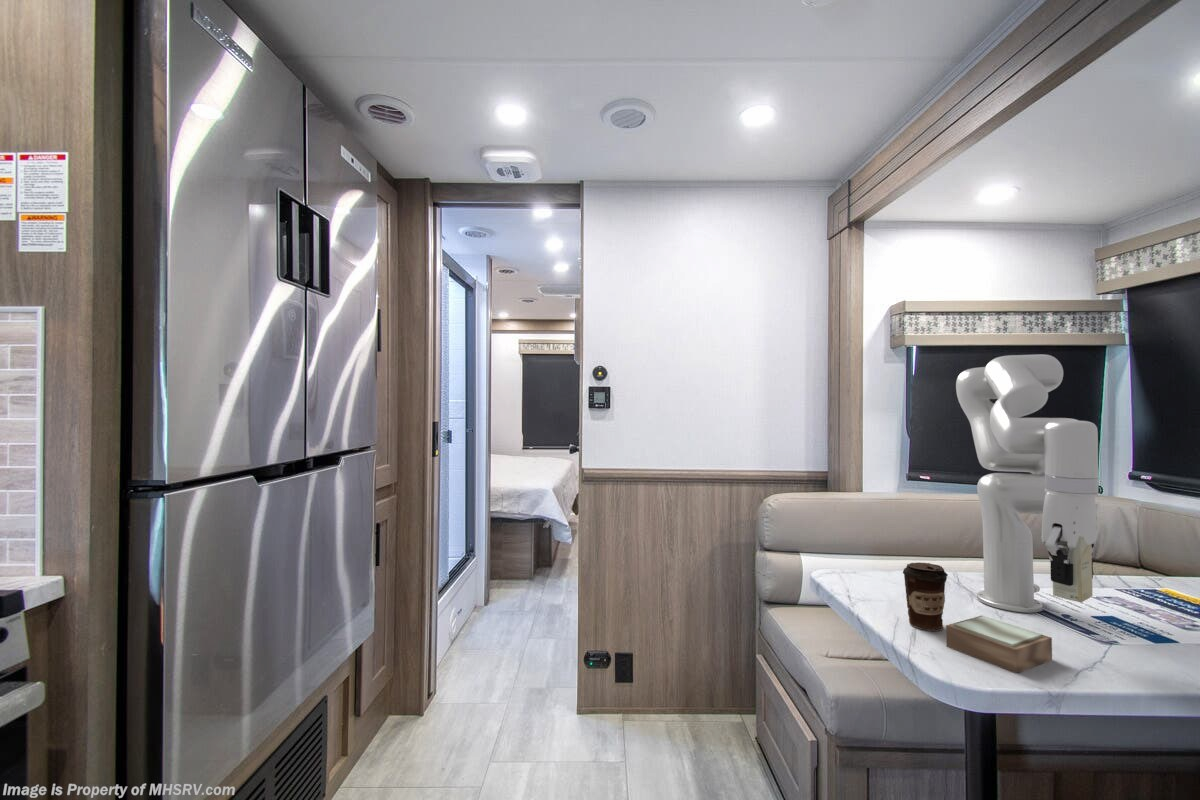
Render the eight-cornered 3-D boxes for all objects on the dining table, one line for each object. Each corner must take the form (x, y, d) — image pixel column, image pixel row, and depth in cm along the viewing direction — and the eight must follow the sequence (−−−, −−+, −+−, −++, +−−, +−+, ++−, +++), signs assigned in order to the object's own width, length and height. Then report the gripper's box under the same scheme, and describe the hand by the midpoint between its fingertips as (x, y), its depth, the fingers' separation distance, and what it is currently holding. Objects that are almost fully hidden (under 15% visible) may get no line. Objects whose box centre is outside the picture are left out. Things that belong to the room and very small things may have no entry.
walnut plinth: (982, 635, 108) (981, 613, 108) (1052, 659, 97) (1051, 635, 97) (946, 646, 103) (945, 623, 103) (1016, 673, 92) (1015, 647, 92)
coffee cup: (957, 636, 107) (955, 572, 108) (913, 632, 109) (911, 570, 110) (938, 620, 116) (937, 561, 116) (898, 617, 118) (897, 559, 118)
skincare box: (1082, 603, 95) (1081, 537, 95) (1051, 596, 98) (1050, 532, 98) (1093, 596, 98) (1092, 532, 98) (1063, 589, 102) (1062, 527, 102)
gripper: (1069, 479, 105) (1070, 567, 105) (1022, 486, 98) (1023, 581, 98) (1119, 484, 98) (1119, 579, 99) (1072, 492, 91) (1073, 594, 91)
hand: (1071, 579), depth 98 cm, fingers closed on skincare box, 6 cm apart
